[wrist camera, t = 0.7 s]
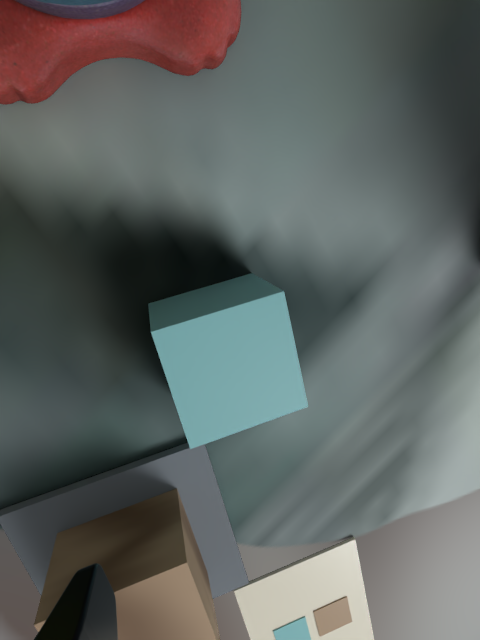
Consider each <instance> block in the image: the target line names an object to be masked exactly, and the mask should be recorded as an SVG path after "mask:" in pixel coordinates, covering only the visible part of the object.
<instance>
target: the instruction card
mask: <svg viewBox="0 0 480 640" xmlns="http://www.w3.org/2000/svg"><path fill="white" fill-rule="evenodd" d="M234 593H235V596H236V599H237V602H238V605H239V608H240V611H241V613H242V617H243V620H244V622H245V625H246V628H247V631H248V634H249V637H250V640H374V637H373V631H372V625H371V620H370V615H369V609H368V604H367V599H366V594H365V589H364V583H363V578H362V572H361V567H360V562H359V557H358V551H357V547H356V541H355V538H354V537H352V538H350V539H347V540H345V541H343V542H340V543H338V544H336V545H333V546H331V547H329V548H327V549H324V550H322V551H320V552H317V553H315V554H313V555H310V556H308V557H305V558H303V559H301V560H298V561H296V562H294V563H291V564H289V565H287V566H284V567H282V568H280V569H277V570H275V571H273V572H270V573H268V574H266V575H263V576H261V577H259V578H256V579H254V580H252V581H249V583H248V584H246V585H244V586H241V587H239V588H237V589H234Z"/></svg>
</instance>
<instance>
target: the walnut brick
mask: <svg viewBox="0 0 480 640" xmlns="http://www.w3.org/2000/svg"><path fill="white" fill-rule="evenodd" d="M94 563H98V564H100V565H101V566H102V568H103V570H104V572H105V574H106V576H107V579H108V581H109V583H110V585H111V587H112V589H113V591H114V594H115V599H116V611H117V632H118V640H220V636H219V631H218V625H217V620H216V615H215V610H214V604H213V599H212V593H211V588H210V583H209V577H208V572H207V570H206V567H205V564H204V561H203V559H202V556H201V553H200V550H199V548H198V545H197V542H196V539H195V537H194V534H193V531H192V528H191V526H190V523H189V520H188V517H187V515H186V512H185V509H184V506H183V504H182V501H181V498H180V495H179V493H178V490H177V488H176V489H174V490H171V491H168V492H166V493H163V494H160V495H158V496H155V497H152V498H150V499H147V500H144V501H142V502H139V503H136V504H134V505H131V506H128V507H126V508H123V509H120V510H118V511H115V512H112V513H110V514H107V515H104V516H102V517H99V518H96V519H94V520H91V521H89V522H86V523H83V524H81V525H78V526H75V527H73V528H70V529H67V530H65V531H62V532H59V533H57V536H56V540H55V544H54V548H53V552H52V556H51V560H50V564H49V568H48V572H47V576H46V580H45V584H44V587H43V591H42V595H41V599H40V603H39V607H38V611H37V615H36V619H35V623H34V626H35V628H36V629H37V631H38V632H39V631H40V629H41V627H42V626H43V624H44V623H45V621H46V619H47V618H48V616H49V614H50V613H51V611H52V610H53V608H54V606H55V605H56V603H57V602H58V600H59V598H60V597H61V595H62V593H63V592H64V590H65V589H66V587H67V585H68V584H69V582H70V581H71V579H72V577H73V576H74V574H75V573H76V572H77V571H78V570H79V569H82V568H84V567H87V566H89V565H92V564H94Z"/></svg>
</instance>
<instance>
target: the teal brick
mask: <svg viewBox="0 0 480 640" xmlns="http://www.w3.org/2000/svg"><path fill="white" fill-rule="evenodd" d="M148 308H149V318H150V328H151V334H152V337H153V340H154V343H155V346H156V349H157V352H158V355H159V358H160V361H161V364H162V367H163V370H164V373H165V376H166V379H167V381H168V384H169V387H170V390H171V393H172V396H173V399H174V402H175V405H176V408H177V411H178V414H179V417H180V420H181V423H182V426H183V429H184V432H185V435H186V438H187V441H188V444H189V447H190V449H192V448H195V447H198V446H201V445H203V444H206V443H209V442H212V441H215V440H217V439H220V438H223V437H226V436H228V435H231V434H234V433H237V432H239V431H242V430H245V429H248V428H251V427H253V426H256V425H259V424H262V423H264V422H267V421H270V420H273V419H275V418H278V417H281V416H284V415H286V414H289V413H292V412H295V411H298V410H300V409H303V408H306V407H308V403H307V399H306V394H305V389H304V384H303V379H302V375H301V370H300V365H299V360H298V356H297V351H296V346H295V341H294V337H293V332H292V327H291V322H290V317H289V313H288V308H287V303H286V298H285V294H284V291H283V290H281V289H279V288H277V287H276V286H274V285H272V284H270V283H268V282H267V281H265V280H263V279H261V278H259V277H258V276H256V275H254V274H252V273H251V274H247V275H244V276H240V277H237V278H234V279H230V280H227V281H223V282H220V283H217V284H213V285H210V286H206V287H203V288H200V289H196V290H193V291H189V292H186V293H183V294H179V295H176V296H172V297H169V298H166V299H162V300H159V301H155V302H152V303H149V304H148Z"/></svg>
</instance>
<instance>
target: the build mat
mask: <svg viewBox="0 0 480 640" xmlns="http://www.w3.org/2000/svg"><path fill="white" fill-rule="evenodd" d="M176 488H177V490H178V493H179V495H180V498H181V501H182V504H183V506H184V509H185V512H186V515H187V517H188V520H189V523H190V526H191V528H192V531H193V534H194V537H195V539H196V542H197V545H198V548H199V550H200V553H201V556H202V559H203V561H204V564H205V567H206V570H207V572H208V577H209V583H210V588H211V593H212V599H214V598H216V597H218V596H220V595H223V594H225V593H227V592H230V591H232V590H234V589H237V588H239V587H241V586H244V585H246V584H248V583H249V581H248V577H247V574H246V571H245V568H244V565H243V562H242V558H241V556H240V552H239V549H238V546H237V543H236V540H235V537H234V534H233V530H232V527H231V524H230V521H229V518H228V515H227V512H226V509H225V505H224V502H223V499H222V496H221V493H220V490H219V487H218V484H217V480H216V477H215V474H214V471H213V468H212V465H211V462H210V459H209V455H208V452H207V449H206V446H205V444H203V445H201V446H198V447H195V448H192V449H190V447H189V444H188V443H185V444H182V445H179V446H177V447H174V448H171V449H168V450H166V451H163V452H160V453H157V454H154V455H152V456H149V457H146V458H143V459H140V460H138V461H135V462H132V463H129V464H126V465H124V466H121V467H118V468H115V469H112V470H110V471H107V472H104V473H101V474H98V475H96V476H93V477H90V478H87V479H85V480H82V481H79V482H76V483H73V484H71V485H68V486H65V487H62V488H59V489H57V490H54V491H51V492H48V493H45V494H43V495H40V496H37V497H34V498H31V499H29V500H26V501H23V502H20V503H17V504H15V505H12V506H9V507H6V508H3V509H1V510H0V524H1V526H2V528H3V530H4V531H5V533H6V535H7V537H8V538H9V540H10V542H11V544H12V545H13V547H14V549H15V551H16V553H17V554H18V556H19V558H20V560H21V561H22V563H23V565H24V566H25V568H26V570H27V572H28V574H29V575H30V577H31V579H32V581H33V582H34V584H35V586H36V587H37V589H38V591H39V593H40V595H42V591H43V587H44V584H45V580H46V576H47V572H48V568H49V564H50V560H51V556H52V552H53V548H54V544H55V540H56V536H57V533H59V532H62V531H65V530H67V529H70V528H73V527H75V526H78V525H81V524H83V523H86V522H89V521H91V520H94V519H96V518H99V517H102V516H104V515H107V514H110V513H112V512H115V511H118V510H120V509H123V508H126V507H128V506H131V505H134V504H136V503H139V502H142V501H144V500H147V499H150V498H152V497H155V496H158V495H160V494H163V493H166V492H168V491H171V490H174V489H176Z"/></svg>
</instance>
